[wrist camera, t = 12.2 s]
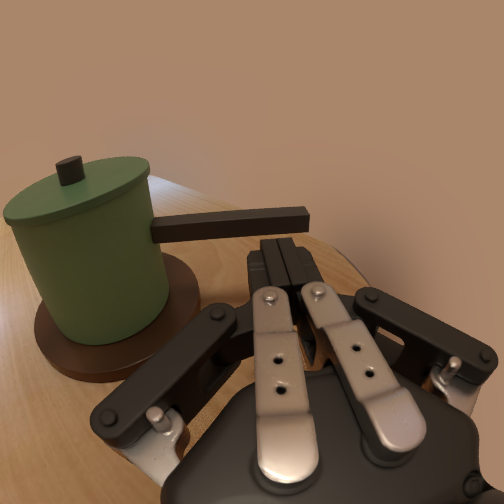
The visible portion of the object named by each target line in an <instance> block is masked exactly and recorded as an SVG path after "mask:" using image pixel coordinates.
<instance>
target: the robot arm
mask: <svg viewBox="0 0 504 504" xmlns="http://www.w3.org/2000/svg"><path fill="white" fill-rule="evenodd" d="M247 268H248V284H249V291H250V298H251V299H250V300H249V301H248V302H247V303H246V304H244V305H242V306H240V307H237V308H233V307H232V306H231V305H229V304H226V303H214V304H210V305H208V306H206V307H205V308H204V309H203V310H201V311H200V312H199V313H198V314H197V315H196V316H195V317H194V318H193V319H192V320H191V321H189V322H188V323H187V324H186V325H185V326H184V327H183V328H182V329H181V330H180V331H179V332H177V333H176V334H175V335H174V336H173V337H172V338H171V339H170V340H169V341H168V342H167V343H165V344H164V345H163V346H162V347H161V348H160V349H159V350H158V351H157V352H156V353H155V354H153V355H152V356H151V357H150V358H149V359H148V360H147V361H146V362H145V363H144V364H142V365H141V366H140V367H139V368H138V369H137V370H136V371H135V372H134V373H133V374H131V375H130V376H129V377H128V378H127V379H126V380H125V381H124V382H123V383H121V384H120V385H119V386H118V387H117V388H116V389H115V390H114V391H113V392H111V393H110V394H109V395H108V396H107V397H106V398H105V399H104V400H103V401H102V402H100V403H99V404H98V405H97V406H96V407H95V408H94V409H93V411H92V413H91V416H90V426H91V428H92V430H93V432H94V433H95V434H96V435H97V436H99V437H100V438H101V439H102V440H103V441H104V442H105V444H106V445H108V446H109V447H110V448H111V449H112V450H114V451H115V452H116V453H117V454H119V455H120V456H121V457H123V458H125V459H127V460H128V461H129V462H131V463H132V464H134V465H135V466H137V467H138V468H139V469H140V470H141V471H142V472H144V473H145V474H146V475H147V476H148V477H149V478H151V479H152V480H153V481H154V482H156V483H157V484H158V485H159V486H161V487H162V489H161V495H160V501H161V504H504V492H502V491H500V490H497V489H495V488H493V487H492V486H490V485H489V484H488V483H487V482H486V481H485V480H484V478H483V477H482V475H481V472H480V466H479V434H478V430H477V427H476V425H475V423H474V422H473V420H472V419H471V418H470V416H471V414H472V411H473V408H474V406H475V403H476V400H477V397H478V394H479V391H480V388H481V386H482V385H483V384H484V382H485V381H486V380H487V379H488V378H489V376H490V375H491V374H492V373H493V371H494V370H495V369H496V368H497V366H498V357H497V354H496V352H495V351H494V350H493V349H492V348H491V347H490V346H488V345H486V344H484V343H482V342H481V341H479V340H477V339H475V338H473V337H471V336H469V335H467V334H465V333H463V332H461V331H460V330H458V329H456V328H454V327H452V326H450V325H448V324H446V323H444V322H442V321H440V320H438V319H436V318H434V317H432V316H430V315H428V314H427V313H424V312H423V311H421V310H419V309H417V308H415V307H413V306H410V305H409V304H407V303H405V302H402V301H401V300H399V299H397V298H395V297H393V296H391V295H389V294H387V293H384V292H383V291H381V290H379V289H376V288H373V287H364V288H361V289H359V290H358V291H357V292H356V294H355V296H348V295H341V294H337V293H336V292H335V290H334V289H333V288H332V287H331V286H330V285H328V284H326V283H324V281H323V279H322V277H321V274H320V272H319V270H318V268H317V266H316V264H315V262H314V260H313V257H312V255H311V253H310V252H309V251H308V250H307V249H306V248H304V247H295V244H294V242H293V239H292V238H291V237H288V238H276V239H264V240H260V250H256V251H250V253H249V254H248V256H247ZM293 325H296V326H297V331H294V329H293ZM379 327H381V328H383V329H385V330H386V331H388V332H390V333H392V334H394V335H396V336H397V337H399V338H401V339H402V340H403V341H404V345H400V344H398V343H397V342H395V341H393V340H391V339H389V338H388V337H386V336H384V335H382V334H380V333H378V332H377V331H378V328H379ZM300 349H301V351H302V354H303V357H304V359H305V362H306V365H307V367H308V370H309V371H304V370H303V364H302V358H301V352H300ZM251 356H254V366H255V382H254V383H252V384H250V385H248V386H246V387H244V388H243V389H241V390H240V391H239V392H237V393H236V394H235V395H234V396H233V397H232V398H231V400H230V401H229V402H228V403H227V405H226V406H225V407H224V409H223V410H222V411H221V412H220V414H219V415H218V416H217V418H216V419H215V420H214V421H213V423H212V424H211V425H210V426H209V428H208V429H207V430H206V431H205V433H204V434H203V435H202V436H201V438H200V439H199V440H198V441H197V442H196V444H195V445H194V446H193V447H192V448H191V450H190V451H189V452H188V453H187V454H186V456H185V457H184V458H183V454H184V451H185V449H186V447H187V446H188V444H189V442H190V432H189V429H188V428H187V425H188V424H189V423H190V422H191V420H192V419H193V418H194V417H195V416H196V415H197V414H198V413H199V412H200V410H201V409H202V408H203V407H204V406H205V405H206V404H207V403H208V401H209V400H210V399H211V398H212V397H213V396H214V395H215V394H216V392H217V391H218V390H219V389H220V388H221V387H222V385H223V384H224V383H225V382H226V381H227V380H228V378H229V377H230V376H231V375H232V374H233V373H234V371H235V370H236V369H237V368H238V367H239V365H240V363H241V360H244V359H246V358H249V357H251Z"/></svg>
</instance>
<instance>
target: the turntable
mask: <svg viewBox="0 0 504 504" xmlns="http://www.w3.org/2000/svg"><path fill="white" fill-rule="evenodd" d="M161 253H162V258H163V262H164V266H165V271H166V275H167V279H168V283H169V295H168V299H167V302H166V304H165V306H164V308H163V309H162V311H161V312H160V313H159V315H158V316H157V317H156V318H155V319H154V320H153V321H152V322H151V323H150V324H149V325H147V326H146V327H145V328H143V329H142V330H141V331H139V332H137V333H136V334H134V335H132V336H130V337H128V338H126V339H123V340H120V341H117V342H113V343H109V344H103V345H85V344H80V343H77V342H74V341H72V340H70V339H69V338H67V337H66V336H65V335H63V334H62V333H61V331H60V330H59V328H58V327H57V325H56V323H55V321H54V320H53V318H52V316H51V314H50V312H49V310H48V309H47V307H46V305H45V303H44V301H43V300H42V302H41V304H40V305H39V308H38V310H37V313H36V317H35V323H34V332H35V338H36V342H37V344H38V346H39V348H40V350H41V352H42V353H43V355H44V356H45V357H46V359H47V360H48V361H49V362H50V364H51V365H52V366H53V367H54V368H56V369H57V370H58V371H59V372H61V373H63V374H65V375H66V376H69V377H71V378H74V379H77V380H81V381H86V382H111V381H117V380H122V379H126V378H128V377H129V376H130V375H131V374H133V373H134V372H135V371H136V370H137V369H138V368H139V367H140V366H141V365H142V364H144V363H145V362H146V361H147V360H148V359H149V358H150V357H151V356H152V355H153V354H155V353H156V352H157V351H158V350H159V349H160V348H161V347H162V346H163V345H164V344H165V343H167V342H168V341H169V340H170V339H171V338H172V337H173V336H174V335H175V334H176V333H177V332H179V331H180V330H181V329H182V328H183V327H184V326H185V325H186V324H187V323H188V322H189V321H191V320H192V319H193V318H194V317H195V316H196V315H197V314H198V313H199V311H200V293H199V287H198V282H197V279H196V277H195V274H194V273H193V271H192V270H191V269H190V268H189V267H188V266H187V265H186V264H185V263H184V262H183V261H181V260H180V259H178V258H176V257H174V256H172V255H169V254H166V253H163V252H161Z"/></svg>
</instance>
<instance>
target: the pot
mask: <svg viewBox="0 0 504 504" xmlns="http://www.w3.org/2000/svg"><path fill="white" fill-rule="evenodd" d="M56 169H57V173H55V174H53V175H51V176H48V177H46V178H44V179H42V180H40V181H38V182H36V183H34V184H33V185H31V186H30V187H27V188H26V189H24V190H23V191H21V192H20V193H19V194H17V195H16V196H15V197H14V198H13V199H11V200H10V201H9V203H8V204H7V205H6V206H5V208H4V210H3V216H4V219H5V222H6V223H7V224H8V225H9V226H11V227H12V230H13V233H14V236H15V238H16V241H17V243H18V246H19V249H20V251H21V253H22V256H23V258H24V261H25V263H26V265H27V268H28V270H29V272H30V274H31V276H32V279H33V281H34V283H35V285H36V287H37V289H38V291H39V293H40V295H41V297H42V299H43V301H44V303H45V305H46V307H47V309H48V310H49V312H50V314H51V316H52V318H53V320H54V321H55V323H56V325H57V327H58V328H59V330H60V331H61V333H62V334H63V335H65V336H66V337H67V338H69V339H70V340H72V341H74V342H77V343H80V344H85V345H103V344H109V343H113V342H117V341H120V340H123V339H126V338H128V337H130V336H132V335H134V334H136V333H137V332H139V331H141V330H142V329H143V328H145V327H146V326H147V325H149V324H150V323H151V322H152V321H153V320H154V319H155V318H156V317H157V316H158V315H159V313H160V312H161V311H162V309H163V308H164V306H165V304H166V302H167V299H168V295H169V283H168V279H167V275H166V271H165V266H164V262H163V258H162V253H161V249H160V244H159V243H170V242H182V241H194V240H206V239H219V238H232V237H245V236H259V235H273V234H288V233H303V232H309V220H310V214H309V213H308V211H307V210H306V208H305V207H304V206H302V207H281V208H264V209H249V210H234V211H221V212H209V213H197V214H185V215H175V216H164V217H155V218H154V214H153V209H152V203H151V198H150V192H149V186H148V180H147V177H148V175H149V173H150V166H149V162H148V161H147V160H146V159H143V158H140V157H115V158H107V159H102V160H97V161H92V162H88V163H85V164H83V163H82V158H81V156H74V157H70V158H67V159H64V160H62V161H60V162H58V163H56Z"/></svg>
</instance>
